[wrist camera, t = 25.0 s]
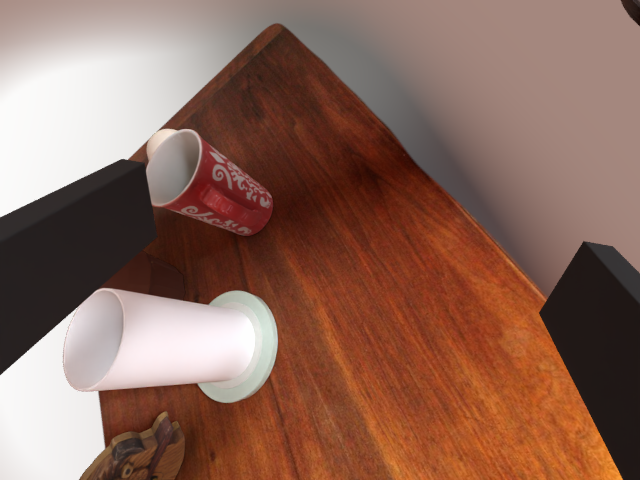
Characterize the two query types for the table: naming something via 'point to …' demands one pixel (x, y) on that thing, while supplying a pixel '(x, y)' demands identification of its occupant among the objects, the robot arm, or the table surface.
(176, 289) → the muffin
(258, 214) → the mug
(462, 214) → the table surface
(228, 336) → the cup
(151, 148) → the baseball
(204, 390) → the plate
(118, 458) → the wooden carving
